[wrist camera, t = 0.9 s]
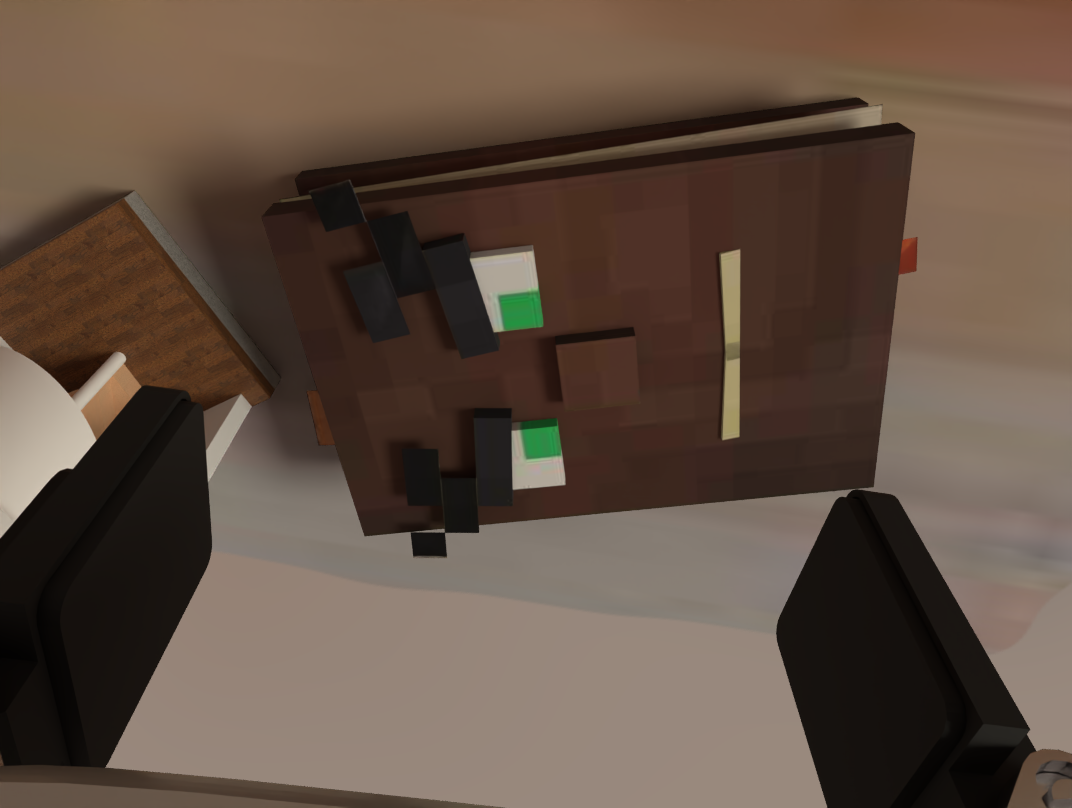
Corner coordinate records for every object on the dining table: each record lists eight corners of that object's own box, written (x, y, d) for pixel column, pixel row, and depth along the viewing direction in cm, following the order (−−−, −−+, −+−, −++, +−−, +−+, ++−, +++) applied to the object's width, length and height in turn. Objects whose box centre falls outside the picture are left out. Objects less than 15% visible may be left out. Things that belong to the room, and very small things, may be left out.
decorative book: (927, 513, 38) (321, 569, 41) (872, 425, 45) (351, 478, 47) (997, 94, 28) (184, 201, 31) (913, 58, 35) (246, 149, 37)
